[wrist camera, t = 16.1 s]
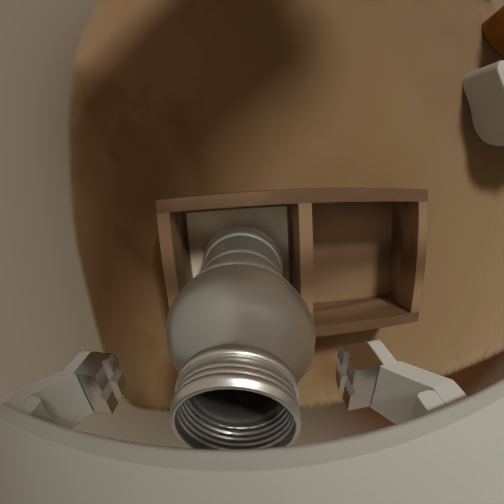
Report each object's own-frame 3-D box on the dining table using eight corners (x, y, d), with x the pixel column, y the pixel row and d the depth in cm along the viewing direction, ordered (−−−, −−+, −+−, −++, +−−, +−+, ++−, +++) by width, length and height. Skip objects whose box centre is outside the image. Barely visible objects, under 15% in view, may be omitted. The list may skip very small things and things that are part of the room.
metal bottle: (231, 207, 25) (175, 272, 6) (293, 248, 26) (398, 395, 6) (194, 266, 26) (93, 428, 7) (254, 303, 27) (266, 498, 8)
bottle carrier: (173, 197, 26) (155, 200, 20) (397, 188, 26) (427, 189, 20) (188, 316, 28) (176, 344, 23) (392, 299, 28) (417, 321, 23)
